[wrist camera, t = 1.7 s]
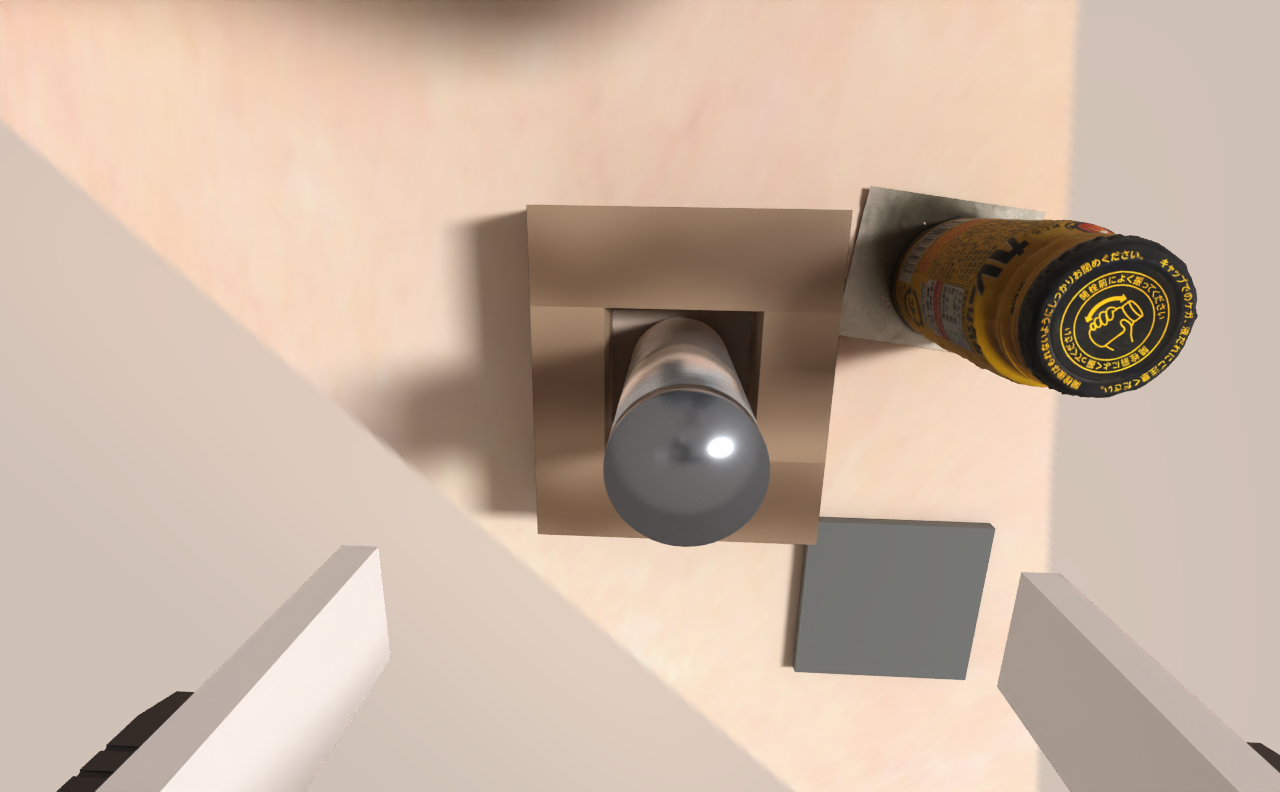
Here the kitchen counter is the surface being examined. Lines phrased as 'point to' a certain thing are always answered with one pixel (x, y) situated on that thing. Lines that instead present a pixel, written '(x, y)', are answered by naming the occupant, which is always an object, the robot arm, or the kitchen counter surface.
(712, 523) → the plug
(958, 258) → the condiment
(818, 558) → the mat
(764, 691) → the kitchen counter surface
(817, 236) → the housing
